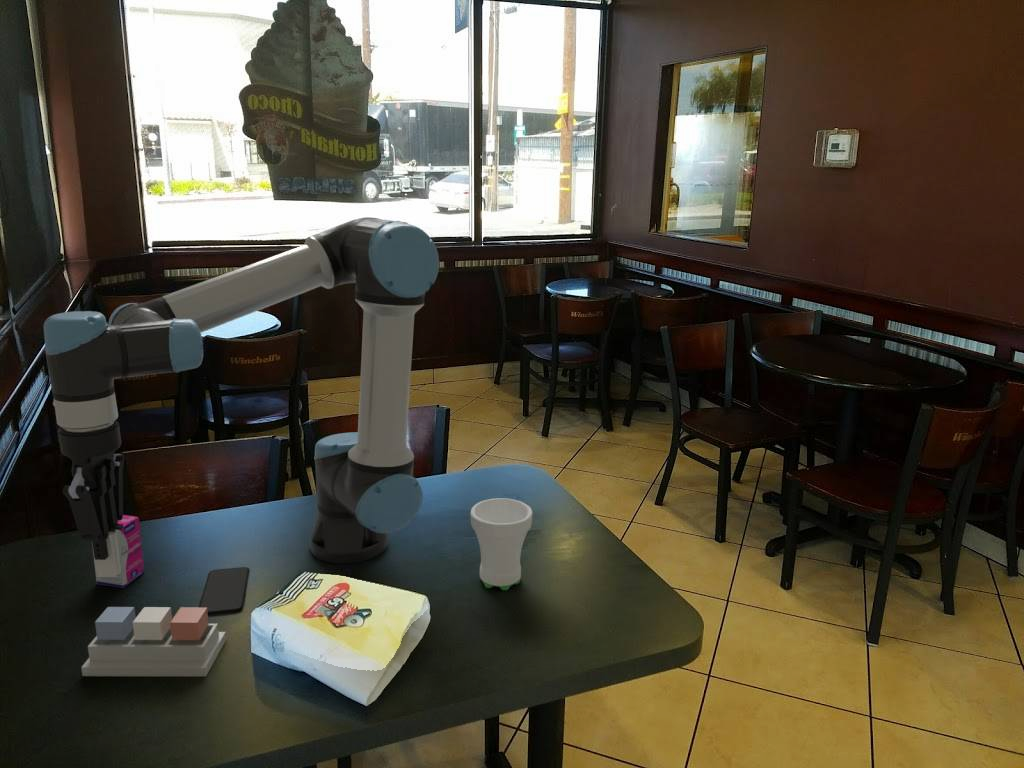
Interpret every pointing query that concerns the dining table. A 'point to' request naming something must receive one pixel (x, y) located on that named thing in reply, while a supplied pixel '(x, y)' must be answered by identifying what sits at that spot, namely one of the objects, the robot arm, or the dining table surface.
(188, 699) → the dining table surface
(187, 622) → the red key
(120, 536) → the supplement box
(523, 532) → the cup
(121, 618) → the blue key
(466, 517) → the dining table surface
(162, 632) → the white key
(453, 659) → the dining table surface
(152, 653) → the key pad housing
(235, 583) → the smartphone
